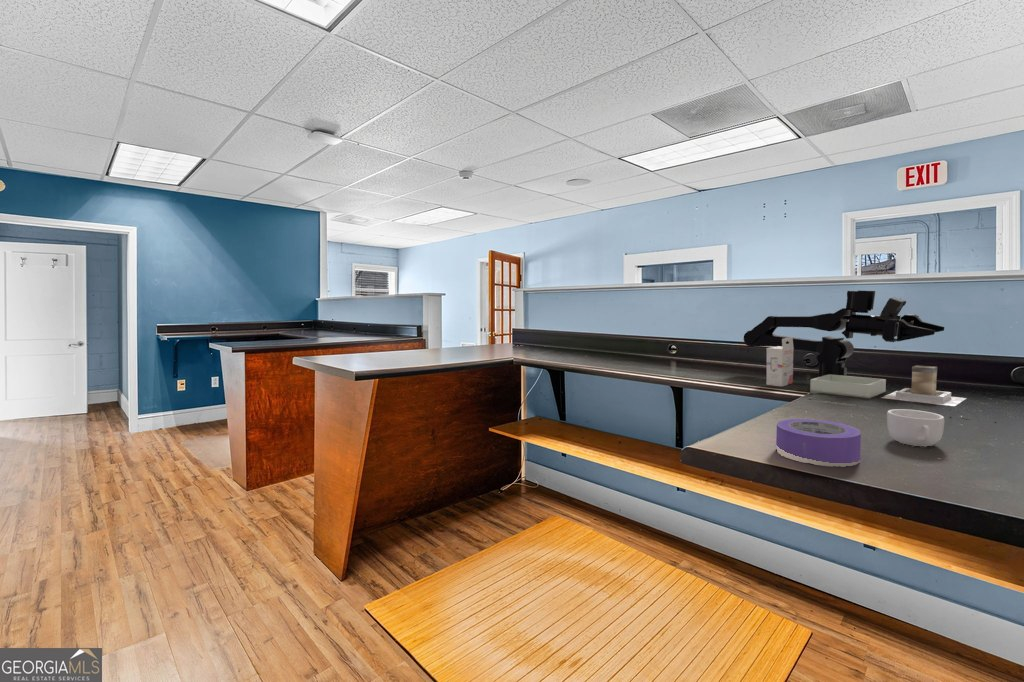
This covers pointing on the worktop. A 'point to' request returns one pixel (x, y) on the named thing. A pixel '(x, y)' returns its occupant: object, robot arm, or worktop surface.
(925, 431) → the teacup
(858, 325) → the robot arm
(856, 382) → the bin
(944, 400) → the socket collar
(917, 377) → the strut
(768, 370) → the ink cartridge box
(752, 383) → the worktop surface
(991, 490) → the worktop surface
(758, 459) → the worktop surface
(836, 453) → the tape roll
